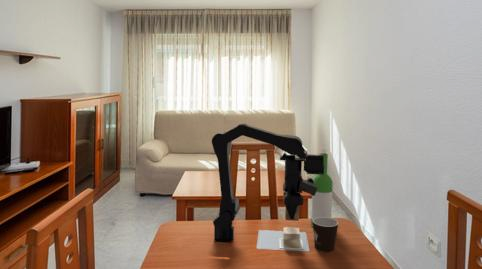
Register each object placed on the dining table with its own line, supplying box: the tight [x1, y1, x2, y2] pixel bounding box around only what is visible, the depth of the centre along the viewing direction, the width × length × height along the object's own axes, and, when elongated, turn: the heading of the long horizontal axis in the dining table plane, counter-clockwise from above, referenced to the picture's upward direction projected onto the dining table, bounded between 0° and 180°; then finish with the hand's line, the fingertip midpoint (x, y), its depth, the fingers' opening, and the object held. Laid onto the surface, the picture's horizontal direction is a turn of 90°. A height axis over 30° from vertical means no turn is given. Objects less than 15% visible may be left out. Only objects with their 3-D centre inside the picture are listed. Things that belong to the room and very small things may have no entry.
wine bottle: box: [310, 152, 334, 228], centre depth 140 cm, size 8×8×30 cm
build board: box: [256, 229, 311, 252], centre depth 129 cm, size 18×16×1 cm
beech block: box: [282, 226, 301, 248], centre depth 125 cm, size 6×6×5 cm
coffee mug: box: [312, 217, 339, 253], centre depth 124 cm, size 12×9×10 cm
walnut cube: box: [284, 205, 300, 222], centre depth 124 cm, size 4×4×4 cm
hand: (291, 216), depth 124 cm, fingers closed on walnut cube, 4 cm apart
